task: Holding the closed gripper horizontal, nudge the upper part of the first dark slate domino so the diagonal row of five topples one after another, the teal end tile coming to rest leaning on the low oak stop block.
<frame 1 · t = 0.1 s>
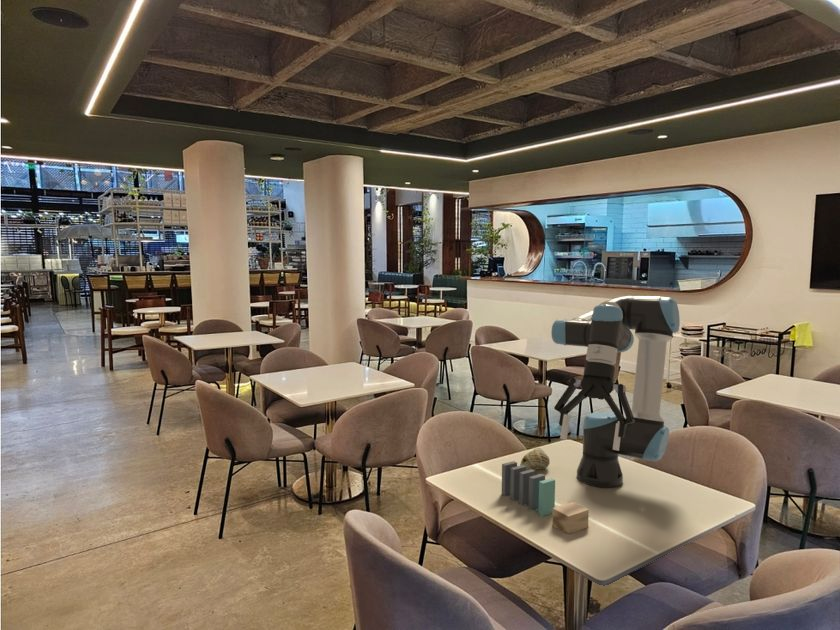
hand: (588, 444, 136), 28 cm above the table, tool tilted 20°, fingers open, 13 cm apart
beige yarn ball: (535, 469, 195), on the table
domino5: (546, 513, 159), on the table
domino4: (536, 507, 163), on the table
stop block: (570, 525, 151), on the table
domino1: (509, 493, 173), on the table
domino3: (526, 502, 166), on the table
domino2: (517, 497, 170), on the table
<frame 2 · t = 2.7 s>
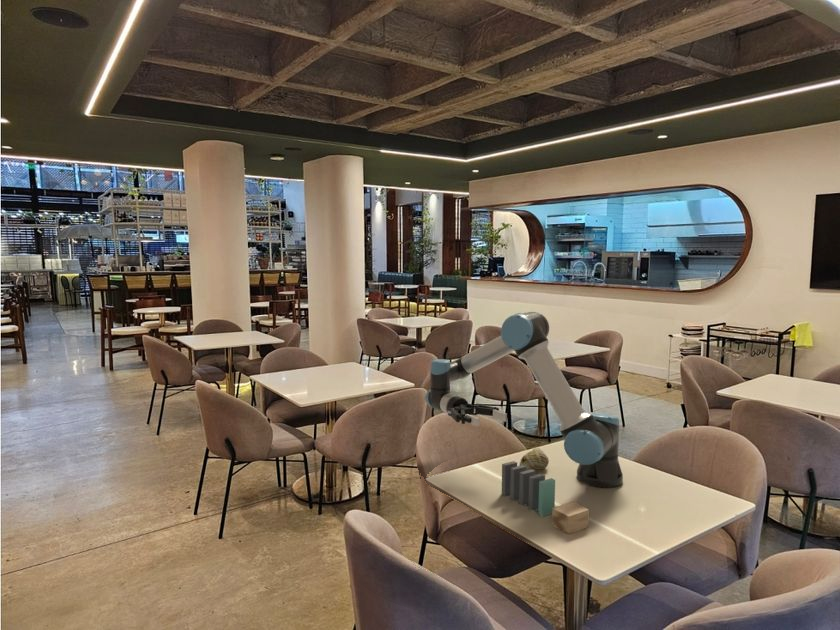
hand: (492, 420, 179), 22 cm above the table, tool horizontal, fingers open, 11 cm apart
nothing on the table moved.
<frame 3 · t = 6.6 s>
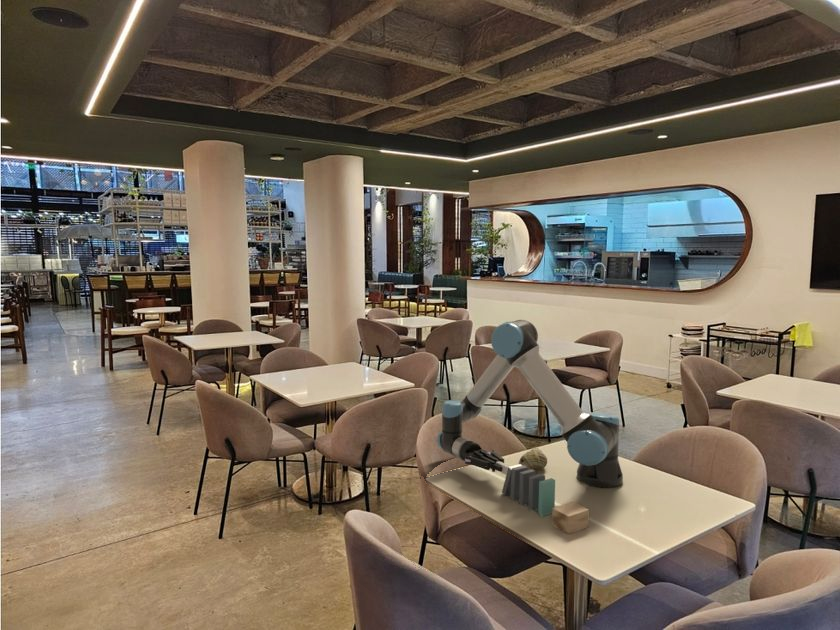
hand: (510, 471, 172), 7 cm above the table, tool horizontal, fingers closed
domino1: (509, 492, 173), on the table, tilted 18°, touching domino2
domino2: (517, 497, 170), on the table, touching domino1
everything else where it was.
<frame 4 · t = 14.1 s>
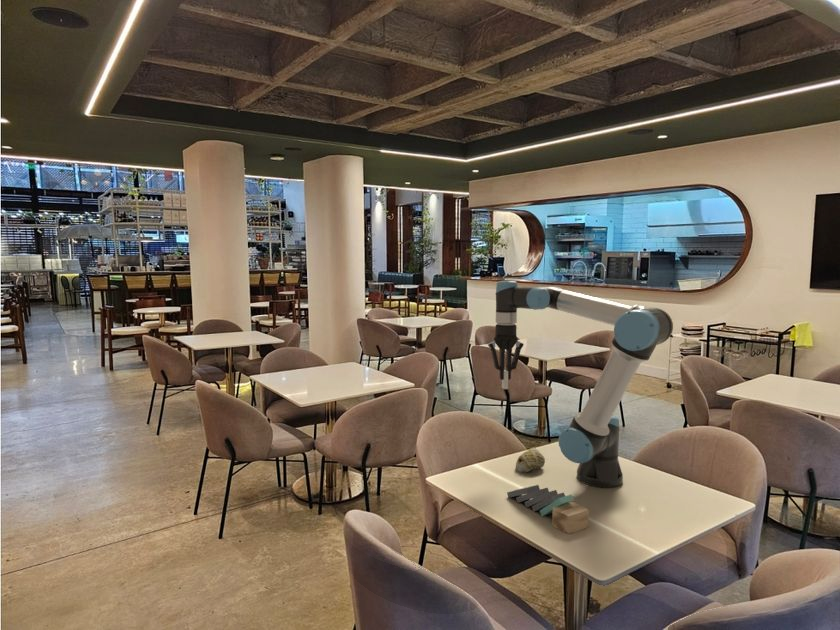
hand: (504, 388, 194), 29 cm above the table, tool pointing down, fingers closed
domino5: (546, 511, 159), point 1 cm above the table, tilted 48°, touching domino4, stop block
domino4: (538, 507, 162), point 1 cm above the table, tilted 52°, touching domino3, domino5
domino1: (513, 493, 172), point 1 cm above the table, tilted 62°, touching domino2
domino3: (531, 503, 165), point 1 cm above the table, tilted 54°, touching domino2, domino4
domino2: (522, 498, 168), point 1 cm above the table, tilted 58°, touching domino1, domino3
at the end: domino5 tilted 48°; domino1 tilted 62° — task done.
